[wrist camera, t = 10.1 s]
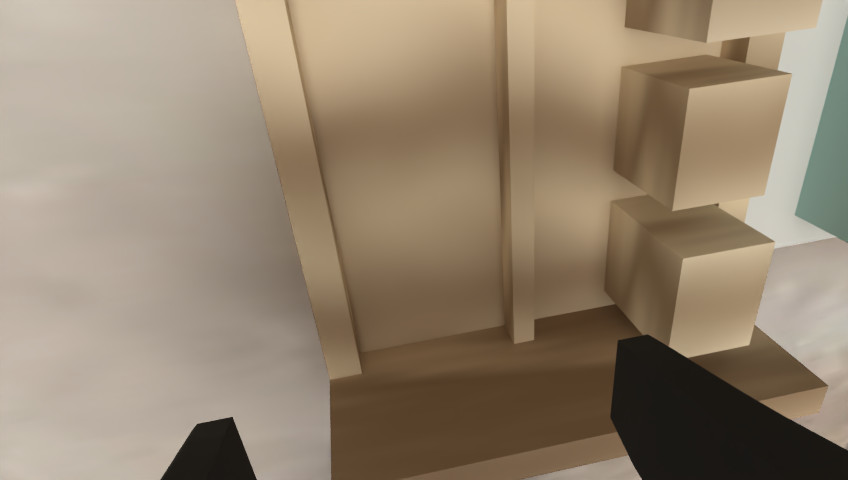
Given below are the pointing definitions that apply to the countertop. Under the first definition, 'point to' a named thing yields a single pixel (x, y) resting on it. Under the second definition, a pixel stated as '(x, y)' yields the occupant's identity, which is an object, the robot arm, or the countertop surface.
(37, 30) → the countertop surface
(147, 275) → the countertop surface
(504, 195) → the rack
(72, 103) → the countertop surface
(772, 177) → the mat
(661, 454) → the robot arm
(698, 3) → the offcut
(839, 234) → the board
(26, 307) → the countertop surface
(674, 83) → the block
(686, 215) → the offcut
